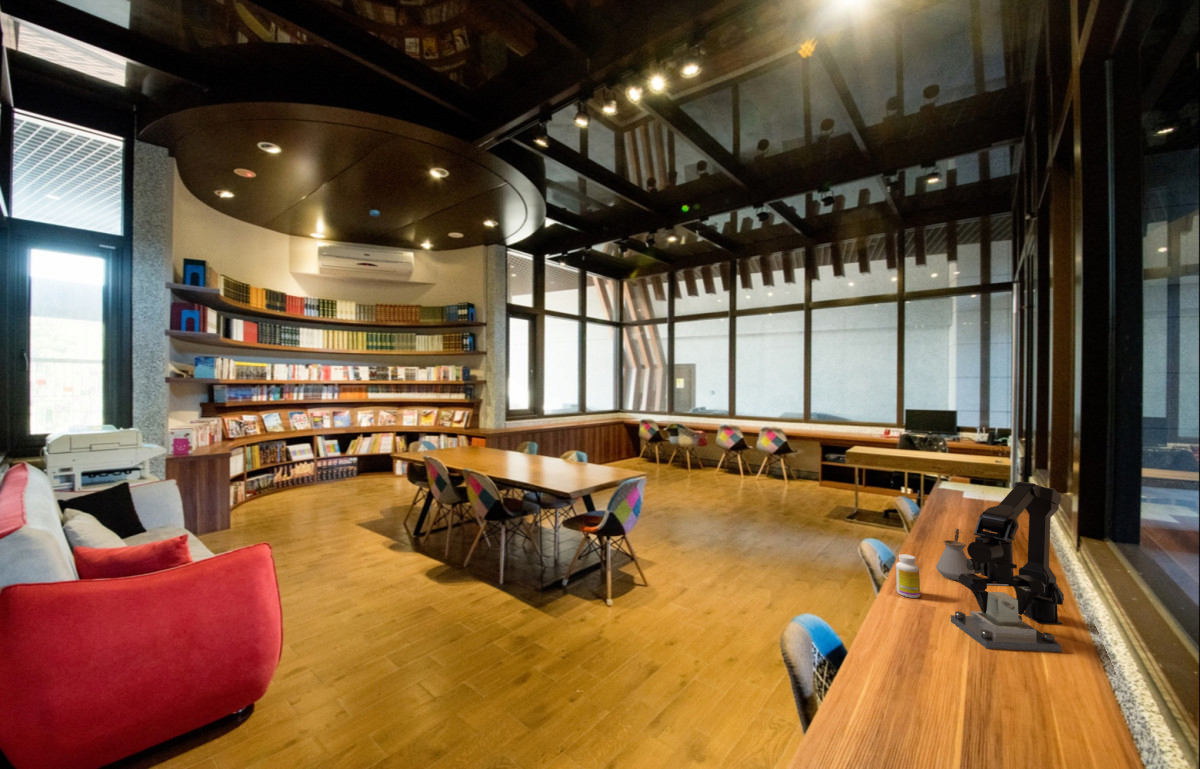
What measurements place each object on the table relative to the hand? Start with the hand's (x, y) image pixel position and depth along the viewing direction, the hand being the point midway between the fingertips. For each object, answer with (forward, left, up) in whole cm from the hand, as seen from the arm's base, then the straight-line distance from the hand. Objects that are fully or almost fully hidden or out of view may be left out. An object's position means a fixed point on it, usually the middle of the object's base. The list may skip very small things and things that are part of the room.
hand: (1001, 613), depth 130 cm
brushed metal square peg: (0, 0, -4) cm, 4 cm away
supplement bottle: (+11, -27, -6) cm, 30 cm away
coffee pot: (-17, -49, -6) cm, 52 cm away
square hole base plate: (0, 0, -6) cm, 6 cm away
